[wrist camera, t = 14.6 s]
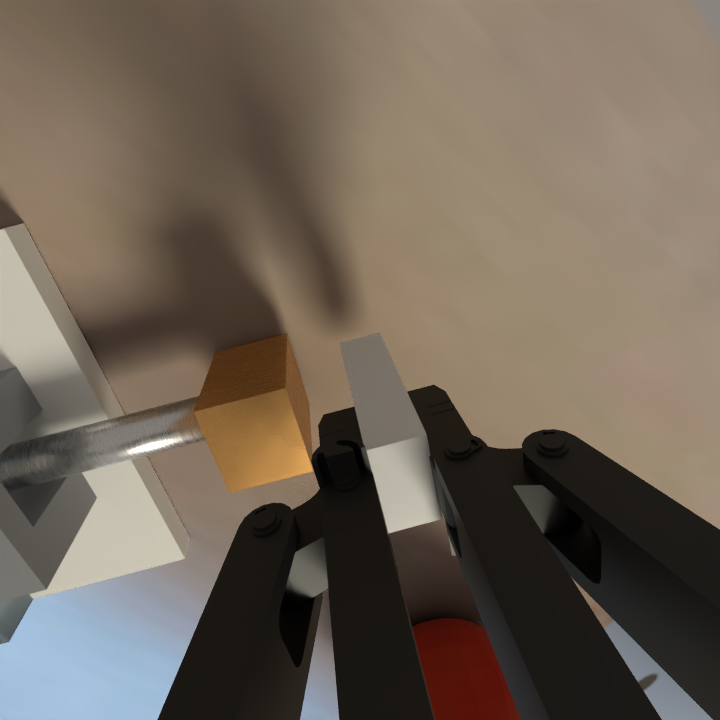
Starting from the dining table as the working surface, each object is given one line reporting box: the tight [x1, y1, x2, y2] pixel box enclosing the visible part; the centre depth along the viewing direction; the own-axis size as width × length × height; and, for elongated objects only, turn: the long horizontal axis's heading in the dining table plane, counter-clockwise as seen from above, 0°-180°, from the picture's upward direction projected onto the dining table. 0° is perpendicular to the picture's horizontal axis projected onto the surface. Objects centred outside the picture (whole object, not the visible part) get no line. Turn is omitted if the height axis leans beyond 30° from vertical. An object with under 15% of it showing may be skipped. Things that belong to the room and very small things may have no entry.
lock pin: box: [0, 334, 313, 493], centre depth 16 cm, size 11×3×4 cm, turn 102°
